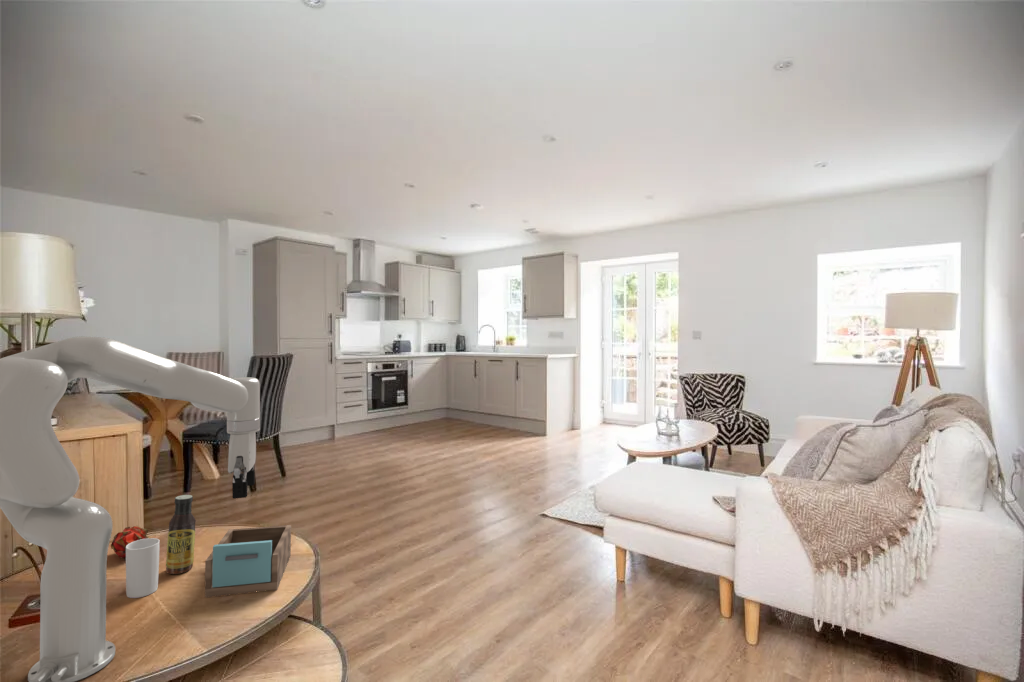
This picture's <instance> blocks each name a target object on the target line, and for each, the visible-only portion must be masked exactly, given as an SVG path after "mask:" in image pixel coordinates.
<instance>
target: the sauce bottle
mask: <svg viewBox="0 0 1024 682" xmlns="http://www.w3.org/2000/svg"><path fill="white" fill-rule="evenodd" d="M193 498H194V497H193V495H191V494H182V495H178V496H176V497H174V504H175V505H174V506H175V507H174V514H173V515H172V517H171V519H170V520H169V523H168V532H167V540H166V541H167V543H166V559H165V570H166V573H167V574H169V575H180V574H183V572H184V573H186V572H189V571H190V570H191V569H192V568H193V567H194V559H195V543H196V542H195V541H196V539H195V538H196V521H197V520H196V518H195V517H194V515H193V514H192V503H193V500H194V499H193Z"/></svg>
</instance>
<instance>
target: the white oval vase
mask: <svg viewBox="0 0 1024 682" xmlns="http://www.w3.org/2000/svg"><path fill="white" fill-rule="evenodd" d="M159 569H160V539H159V538H155V537H149V538H146V539H141V540H137V541H134V542H131V543H129V544H128V545H127V546H126V559H125V588H126V589H125V593H126V597H127V598H129V599H137V598H144V597H146V596H149V595H151V594H153V593H155V592H157V590H158V588H159V587H158V586H159V572H160V571H159Z"/></svg>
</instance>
